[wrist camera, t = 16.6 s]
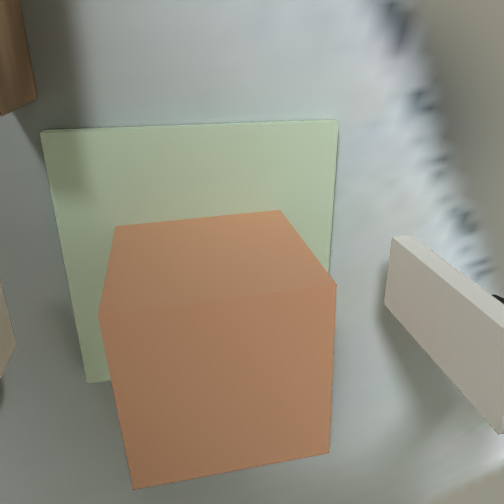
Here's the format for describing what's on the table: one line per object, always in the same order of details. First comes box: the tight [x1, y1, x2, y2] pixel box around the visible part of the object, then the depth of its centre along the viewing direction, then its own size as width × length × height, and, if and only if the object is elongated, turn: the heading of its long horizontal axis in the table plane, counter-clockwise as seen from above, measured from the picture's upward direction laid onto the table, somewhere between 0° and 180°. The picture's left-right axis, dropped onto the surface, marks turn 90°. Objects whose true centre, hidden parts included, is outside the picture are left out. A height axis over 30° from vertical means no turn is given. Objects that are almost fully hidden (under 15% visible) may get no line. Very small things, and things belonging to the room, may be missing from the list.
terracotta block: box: [98, 210, 337, 490], centre depth 16 cm, size 6×6×6 cm
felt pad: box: [40, 119, 339, 384], centre depth 18 cm, size 10×10×1 cm
